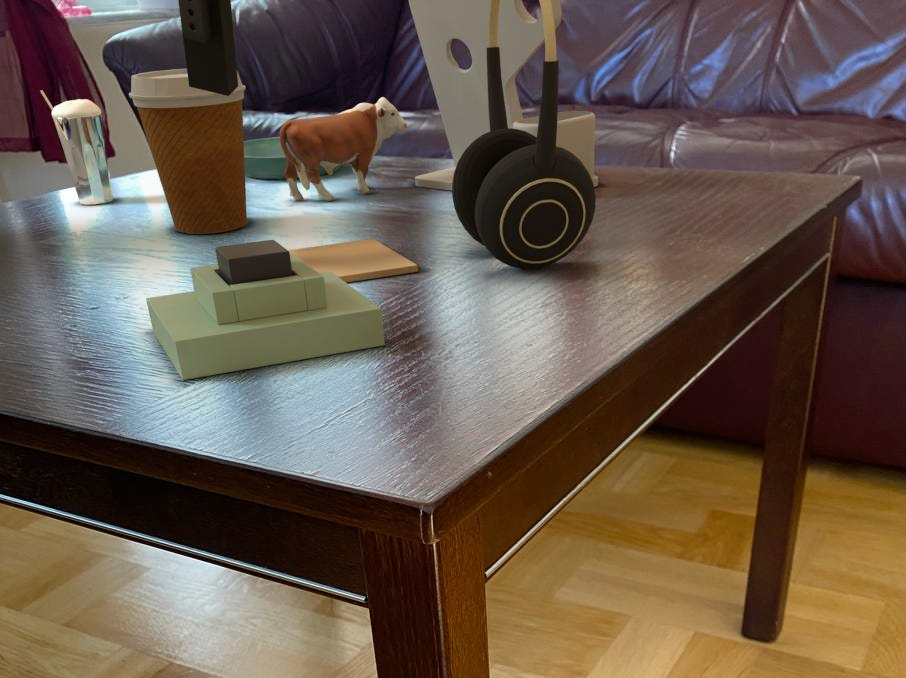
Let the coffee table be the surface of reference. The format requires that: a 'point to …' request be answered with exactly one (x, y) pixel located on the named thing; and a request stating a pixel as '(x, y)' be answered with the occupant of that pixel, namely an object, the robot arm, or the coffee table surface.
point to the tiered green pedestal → (262, 321)
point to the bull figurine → (336, 144)
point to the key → (253, 262)
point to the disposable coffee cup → (195, 149)
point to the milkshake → (84, 148)
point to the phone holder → (466, 91)
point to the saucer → (268, 159)
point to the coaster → (356, 260)
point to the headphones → (523, 174)
